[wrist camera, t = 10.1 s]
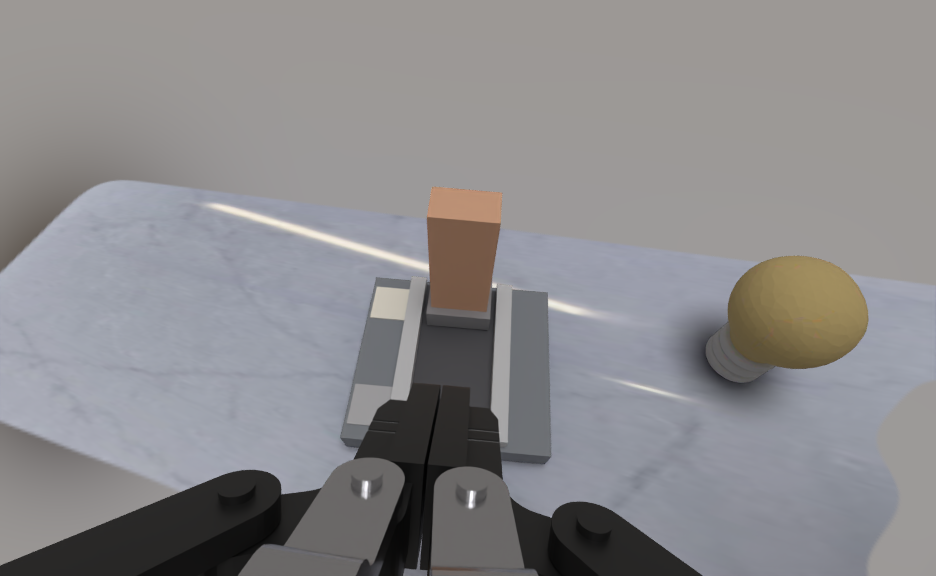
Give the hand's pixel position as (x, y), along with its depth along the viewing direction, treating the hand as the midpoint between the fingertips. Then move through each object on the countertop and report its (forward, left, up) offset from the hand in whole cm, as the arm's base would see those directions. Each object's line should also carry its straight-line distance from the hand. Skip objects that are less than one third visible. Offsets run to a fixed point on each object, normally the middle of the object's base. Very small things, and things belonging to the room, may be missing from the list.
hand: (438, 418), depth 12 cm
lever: (0, -12, -15) cm, 19 cm away
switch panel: (0, -8, -17) cm, 19 cm away
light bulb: (-19, -11, -17) cm, 28 cm away
